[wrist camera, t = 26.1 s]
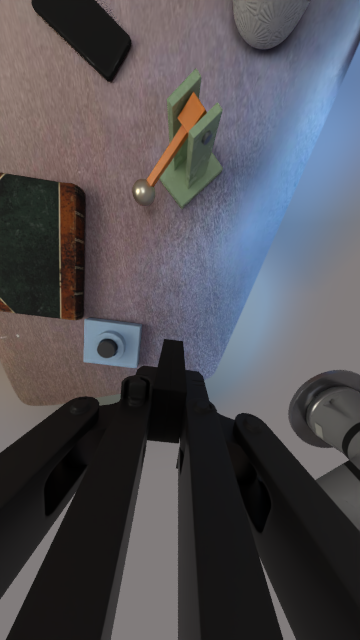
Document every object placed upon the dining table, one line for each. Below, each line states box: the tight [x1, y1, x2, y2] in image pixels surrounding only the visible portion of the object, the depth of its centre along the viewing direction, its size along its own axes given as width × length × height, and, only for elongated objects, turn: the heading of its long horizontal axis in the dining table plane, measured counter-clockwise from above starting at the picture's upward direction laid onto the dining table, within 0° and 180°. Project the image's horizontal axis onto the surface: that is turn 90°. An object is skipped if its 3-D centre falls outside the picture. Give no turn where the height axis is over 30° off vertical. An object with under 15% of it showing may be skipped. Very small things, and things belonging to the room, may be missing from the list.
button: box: [97, 339, 117, 358], centre depth 37 cm, size 4×4×2 cm
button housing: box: [84, 317, 142, 368], centre depth 40 cm, size 12×10×4 cm
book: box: [0, 173, 85, 320], centre depth 35 cm, size 17×4×25 cm
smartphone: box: [32, 0, 131, 81], centre depth 29 cm, size 7×1×15 cm
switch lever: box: [132, 92, 207, 206], centre depth 26 cm, size 14×4×4 cm, turn 130°
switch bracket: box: [159, 69, 223, 209], centre depth 28 cm, size 10×8×14 cm
